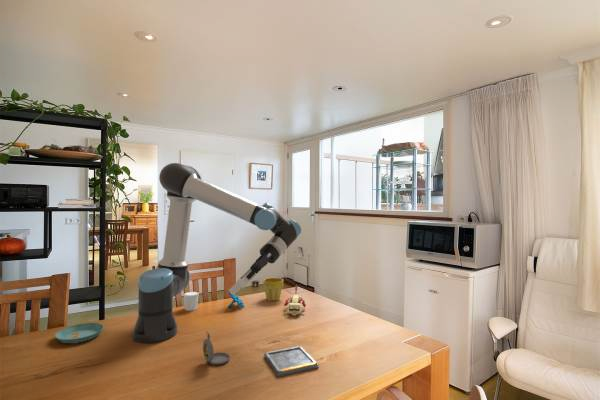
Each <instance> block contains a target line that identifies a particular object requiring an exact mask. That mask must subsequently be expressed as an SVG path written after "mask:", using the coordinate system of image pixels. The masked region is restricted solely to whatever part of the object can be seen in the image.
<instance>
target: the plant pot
mask: <svg viewBox="0 0 600 400" xmlns="http://www.w3.org/2000/svg"><path fill="white" fill-rule="evenodd" d="M262 286H263V288H264V292H265V296H266V300H267V301H272V302H275V301H278V300H279V301H280V298H281V295H282V294H281V293H282V290H283V287H284V279H283V278H280V277H267V278H264V279H263V280H262Z"/></svg>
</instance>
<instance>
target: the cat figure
mask: <svg viewBox="0 0 600 400" xmlns="http://www.w3.org/2000/svg"><path fill="white" fill-rule="evenodd" d="M294 289H295V291H294V294H291V296H290V297H289V298H287V299H286V300H285V303H283V304H284V305H283V306H284V307H283V310H285V311H287V312H286V313H288V314H290V315H292V316H294V317H295V316H297V315H300V314H302V311H303V312H304V311H305V310H306V306H307V305H306V302H305V300H304V299H303V297H302V296H301V294H299V295H298V285H295V287H294ZM289 300H291V302H289ZM299 301H301V303H299Z"/></svg>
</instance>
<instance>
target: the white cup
mask: <svg viewBox="0 0 600 400" xmlns="http://www.w3.org/2000/svg"><path fill="white" fill-rule="evenodd" d="M199 294H200V292H198V291H187V292H185V293H183V305H184V306H183V307H184V311H190V312H191V311H192V312H193V311H196V310H197V309H198V304H199Z"/></svg>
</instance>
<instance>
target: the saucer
mask: <svg viewBox="0 0 600 400" xmlns="http://www.w3.org/2000/svg"><path fill="white" fill-rule="evenodd" d="M104 328H105V325H104V324H102V323H100V322H99V323H98V322H84V323H79V324H78V323H77V324H75V325H70V326H67V327H65V328H63V329H60V330H58V331H57V332H56V333H55V335H54V337H55V338H56V339H57V341H60V342H61V343H63V344H67V343H74V344H79V342H81V343H84V341H85V342H88V341H90V339H91V340H93V339H94V337H95V338H96V337H98V336H99V335H100V334H101V333H102V331H103V330H104ZM78 331H79V334H78V336H77V335H72V334H71V333H74V332H78ZM74 336H77V337H78V338H74V339H73V338H72V337H74ZM87 340H88V341H87Z"/></svg>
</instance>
